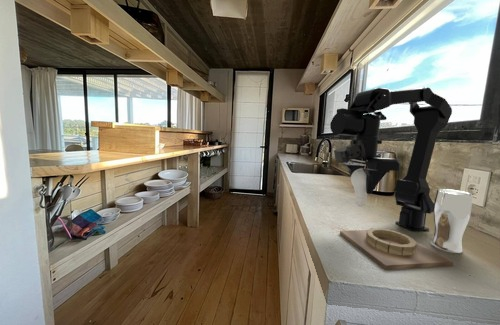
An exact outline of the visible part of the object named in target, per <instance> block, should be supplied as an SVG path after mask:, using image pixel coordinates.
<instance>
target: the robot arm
mask: <svg viewBox="0 0 500 325" xmlns="http://www.w3.org/2000/svg"><path fill="white" fill-rule="evenodd" d="M421 102H424V103H425V104H423V105H419V104H418V103H421ZM398 104H399V105H400V104H409V113H410V114H411V115H412V116H413V118H414V119H413V125H414V127H415V128H416V137H415V140H414V144H413V148H412V153H411V156H410V160H409V163H408V167H407V170H406V174H405V176H404V177H403V178H402V179H400V178H398V179H397V180H396V185H395V187H394V190H393V192H394V198H395V199H394V200H395V204H396V205H397V206H400V207H401V208H400V211H399V219H398V221H397V220H396V221H395V224H397V225H399V226H400V227H403V228H404V229H407V230H409V231H411V232H417V231H418V232H422V231H423V232H424V231H430V228H428V227H426V226H425V225H426V219H427V214H432V213H434V201H433V199H432V198H431V196H430V191H431V188H430V185H429V182H428V181H427V175H428V171H429V168H430V165H431V159H432V156H433V153H434V149H435V145H436V142H437V137H438V134H439V133H440V132H441V131H442V130H443V129H445V127H446V126H448V123H449V121H450V118H451V116H452V114H453V109H452V106H451V105H450V104H449V102H448V101H447V99H446V98H444V97H442V96H441V95H439V94H436V93H434V92H433V91H432V89H431V88H430V87H427V86H423V87H417V88H411V89H409V88H408V89H399V90H390V88H385V87H376V88H372V89H369V90H368V89H367V90H364V91H359V92H357V94H356V96H355V98H354V100H353V102H352V103H351V104H350V106H349V107H348V108H337V109H336V113H335V114H334V115H333V117H332V119H331V121H330V124H329V126H330V127H329V128H330V131H331V133H332V134H334V135H336V136H355V138H353V139H351V140H350V144H349V145H345V146H343V147H339V148H336V149H334V150H333V153H334V157H335V161H336V162H337V163H341V164H342V166H343V167H344V168H346V169H347V171H348V173H349V177H350V178H351V175H352V173H353V172H354V171H355V170H357V169H362V170H363V171H364V172H365V174H366V193H367V194H368V195H370V194H372V193H373V191H374V190H375V189H376V187H377V186H378V184H379V183H380V181H381V180H383V178H384V177H385V175H386V174H387V173H390V172H393V171H400V165H401V163H400V161H399V160H398V159H397V158H390V157H381V155H378V148H379V147H378V146H379V145H382V143H383V140H382V139H381V140H380V139H379V134H380V126H381V125H380V124H381V121H387V116H386V115H384V114H383V113H382V110H385V109H387V108H389V107H390V106H392V105H393V106H394V105H398ZM366 166H367V168H366ZM352 188H353V189H354V187H353V186H352Z"/></svg>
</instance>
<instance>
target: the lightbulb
mask: <svg viewBox="0 0 500 325" xmlns="http://www.w3.org/2000/svg"><path fill="white" fill-rule="evenodd" d="M350 182H351V183H350V184H352V188H353V187H354V188H353V190H354V197H355V199H354V200H355V205H357V206H358V207H362V206H365V205H366V201H367V198H368V195H369V194H367V193H366V174H365V172H364V171H363V170H362V169H357V170H355V171H354V172H353V173H352V175H351V177H350Z"/></svg>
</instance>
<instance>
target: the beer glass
mask: <svg viewBox="0 0 500 325" xmlns="http://www.w3.org/2000/svg"><path fill="white" fill-rule="evenodd" d="M433 203H434V211H433V221H434V222H433V223H434V233H433V236H432V239H431V241H430V245H431V246H432V247H434V248H436V249H438V250H441V251H443V252H447V253H451V254H462V253H463V244H462V243H463V242H462V241H463V240H462V239H463V236H464V233H465V230H466V228H467V226H468V223H469V221H470V218H471V214H472V206H473V194H472V193H470V192H466V191H462V190H461V191H460V190H455V189H449V188H447V189H445V188H438V189H436V194H435V198H434V201H433Z"/></svg>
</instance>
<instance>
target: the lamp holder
mask: <svg viewBox="0 0 500 325" xmlns="http://www.w3.org/2000/svg"><path fill="white" fill-rule="evenodd" d="M339 235H340V236H342V237H343V238H344V239H345V240H347V241H348V242H349V243H350V244H352V245H353V246H354V247H355V248H356V249H358V250H359V251H361V252H362V253H363V254H364V255H366V256H367V257H368V258H369V259H371V260H372V261H373V262H374V263H376V264H377V265H379V267H381V268H382V269H384V270H385V271H389V270H391V271H393V270H405V269H406V270H407V269H421V268H422V269H423V268H437V267H438V268H440V267H452V266H454V261H453V260H451V259H450V258H448V257H445V256H443V255H442V254H440V253H438V252H436V251H434V250H433V249H430V248H428V247H427V246H425V245H423V244H420V243H419V242H417V241H416V240H415V239H414V238H412V237H411V236H409V235H407V234H405V233H403V232H399V231H396V230H394V229H392V228H391V229H388V228H382V227H380V228H379V227H373V228H372V227H371V228H369V229H363V230H362V229H357V230H339Z"/></svg>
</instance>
